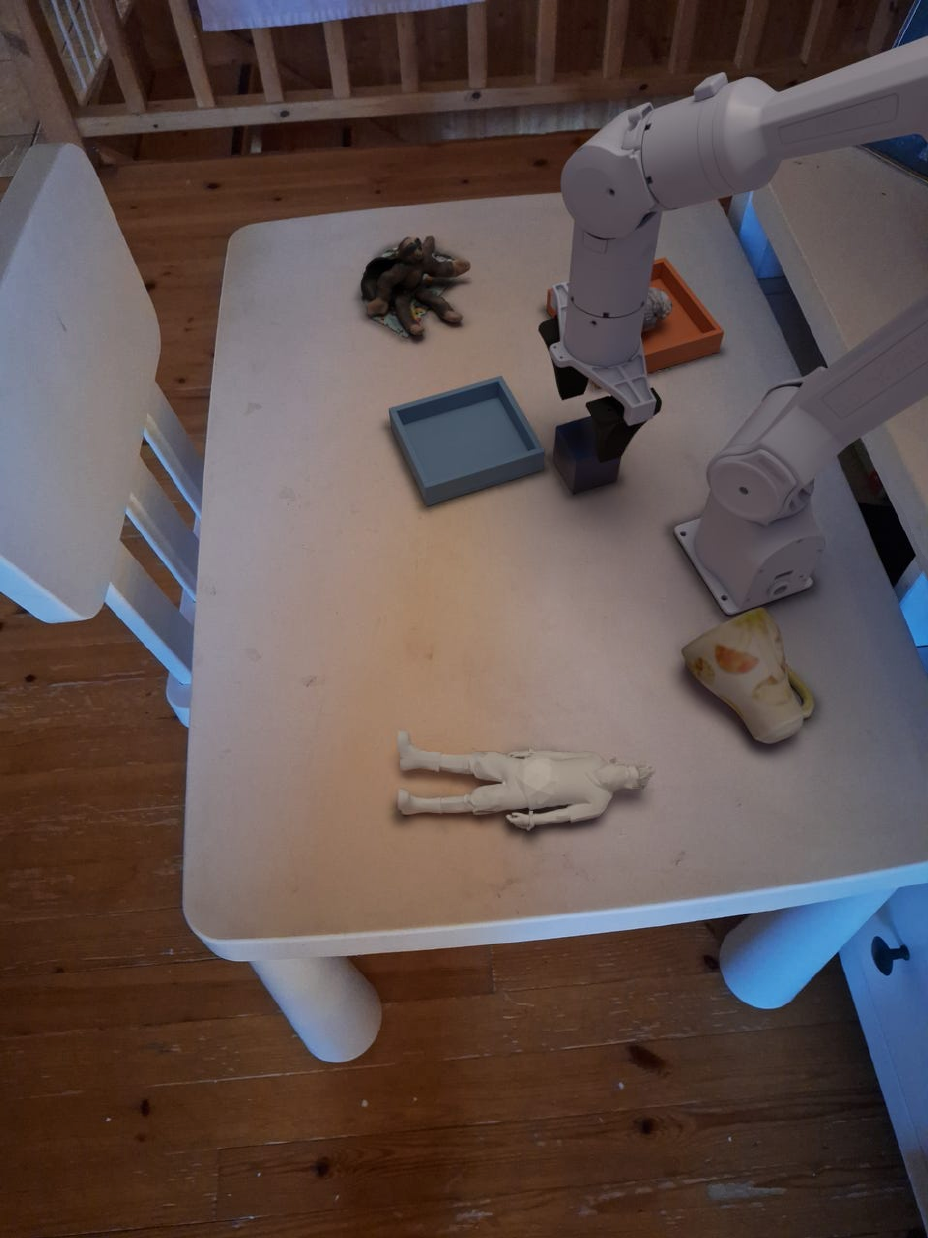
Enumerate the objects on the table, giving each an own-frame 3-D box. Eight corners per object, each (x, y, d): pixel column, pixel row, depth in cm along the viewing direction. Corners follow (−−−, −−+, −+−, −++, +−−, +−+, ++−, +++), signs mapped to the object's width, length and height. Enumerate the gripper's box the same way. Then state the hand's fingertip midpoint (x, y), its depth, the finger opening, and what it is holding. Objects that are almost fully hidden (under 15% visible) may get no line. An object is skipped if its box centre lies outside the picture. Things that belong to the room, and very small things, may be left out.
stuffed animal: (381, 342, 89) (345, 222, 88) (376, 367, 98) (343, 260, 98) (494, 312, 90) (459, 194, 90) (478, 340, 100) (446, 234, 99)
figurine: (396, 727, 64) (650, 712, 63) (405, 746, 68) (646, 732, 67) (395, 826, 61) (664, 812, 60) (404, 840, 65) (658, 827, 63)
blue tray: (543, 469, 81) (545, 450, 79) (426, 506, 80) (425, 488, 77) (501, 394, 86) (501, 374, 84) (390, 427, 85) (388, 407, 82)
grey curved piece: (569, 343, 90) (664, 337, 92) (584, 328, 85) (685, 323, 86) (564, 288, 90) (660, 284, 91) (579, 271, 84) (681, 266, 86)
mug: (751, 779, 66) (717, 684, 60) (692, 702, 74) (658, 612, 68) (843, 732, 65) (818, 632, 60) (775, 660, 73) (746, 566, 68)
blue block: (617, 480, 80) (623, 446, 77) (572, 494, 80) (576, 461, 76) (596, 446, 83) (601, 411, 79) (552, 459, 82) (555, 425, 78)
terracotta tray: (719, 351, 89) (724, 331, 87) (597, 388, 87) (599, 368, 84) (661, 277, 95) (665, 256, 93) (546, 309, 93) (547, 289, 91)
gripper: (517, 246, 68) (513, 381, 79) (600, 372, 61) (582, 500, 72) (603, 223, 69) (586, 359, 81) (694, 345, 62) (661, 475, 73)
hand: (589, 425), depth 76 cm, fingers open, 7 cm apart
